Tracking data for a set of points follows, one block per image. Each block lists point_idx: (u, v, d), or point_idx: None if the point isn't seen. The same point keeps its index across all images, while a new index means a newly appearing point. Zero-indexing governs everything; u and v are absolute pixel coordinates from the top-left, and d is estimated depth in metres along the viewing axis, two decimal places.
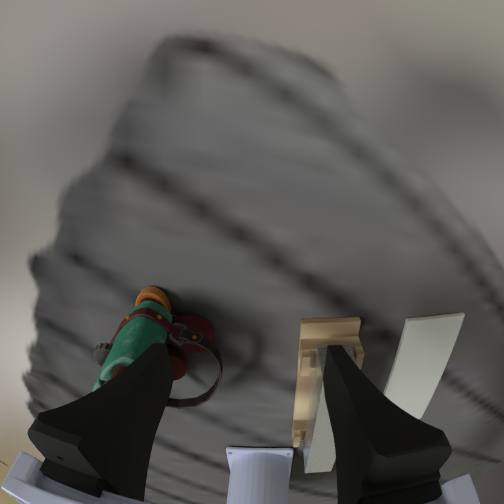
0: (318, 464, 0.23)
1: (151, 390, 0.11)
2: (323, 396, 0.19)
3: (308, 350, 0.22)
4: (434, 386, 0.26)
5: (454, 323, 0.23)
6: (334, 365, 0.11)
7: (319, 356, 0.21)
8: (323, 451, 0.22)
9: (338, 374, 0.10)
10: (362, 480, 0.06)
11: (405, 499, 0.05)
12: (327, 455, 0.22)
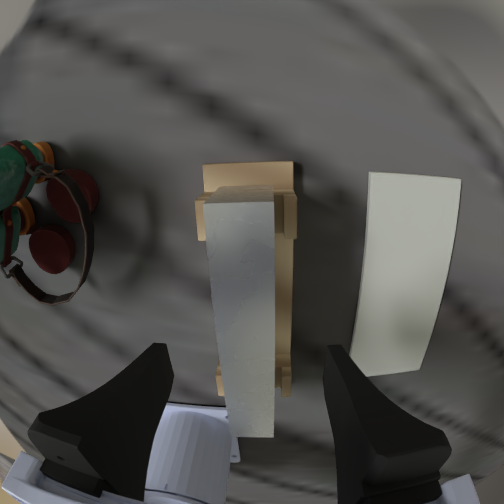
0: (247, 420, 0.16)
1: (151, 390, 0.11)
2: (211, 244, 0.12)
3: (207, 197, 0.15)
4: (435, 311, 0.19)
5: (449, 192, 0.16)
6: (334, 365, 0.11)
7: (216, 191, 0.14)
8: (247, 390, 0.15)
9: (338, 374, 0.10)
10: (362, 480, 0.06)
11: (405, 499, 0.05)
12: (257, 401, 0.15)
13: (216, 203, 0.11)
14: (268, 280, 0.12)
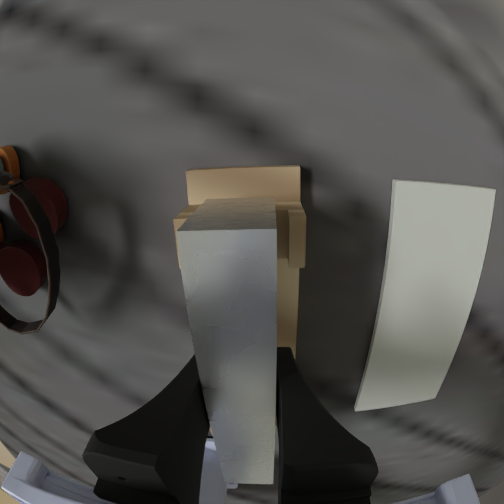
0: (243, 470, 0.12)
1: None
2: (190, 285, 0.08)
3: (191, 213, 0.12)
4: (457, 338, 0.15)
5: (482, 205, 0.12)
6: (276, 367, 0.11)
7: (199, 208, 0.10)
8: (242, 444, 0.11)
9: (277, 376, 0.10)
10: (281, 487, 0.06)
11: None
12: (254, 454, 0.12)
13: (194, 230, 0.08)
14: (268, 331, 0.09)
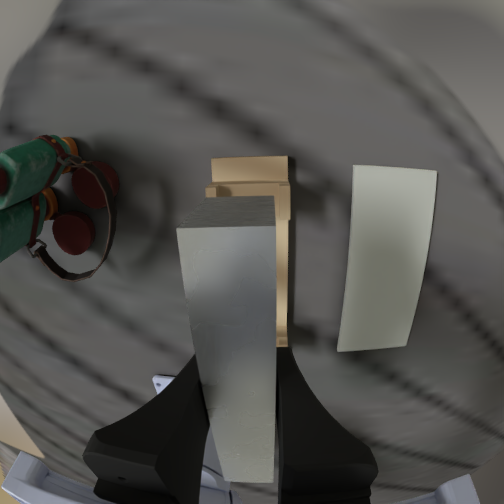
0: (243, 468, 0.12)
1: None
2: (190, 282, 0.09)
3: (216, 185, 0.18)
4: (417, 289, 0.22)
5: (425, 182, 0.19)
6: (276, 367, 0.11)
7: (199, 206, 0.10)
8: (242, 442, 0.11)
9: (277, 377, 0.10)
10: (281, 487, 0.06)
11: None
12: (254, 452, 0.12)
13: (194, 227, 0.08)
14: (268, 328, 0.09)
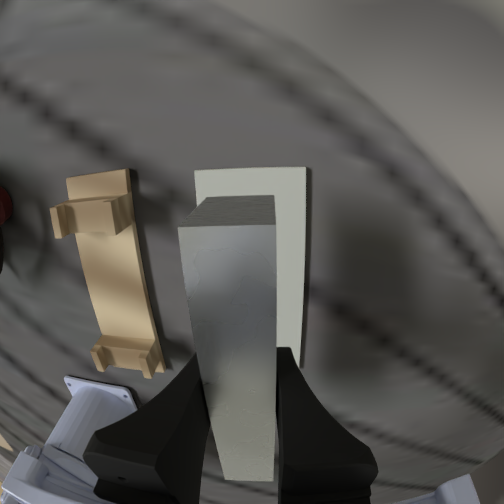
0: (243, 466, 0.12)
1: None
2: (191, 280, 0.09)
3: (61, 204, 0.17)
4: (298, 309, 0.20)
5: (289, 182, 0.17)
6: (276, 367, 0.11)
7: (200, 205, 0.10)
8: (242, 440, 0.11)
9: (277, 377, 0.10)
10: (281, 487, 0.06)
11: None
12: (254, 450, 0.12)
13: (195, 226, 0.08)
14: (268, 326, 0.09)
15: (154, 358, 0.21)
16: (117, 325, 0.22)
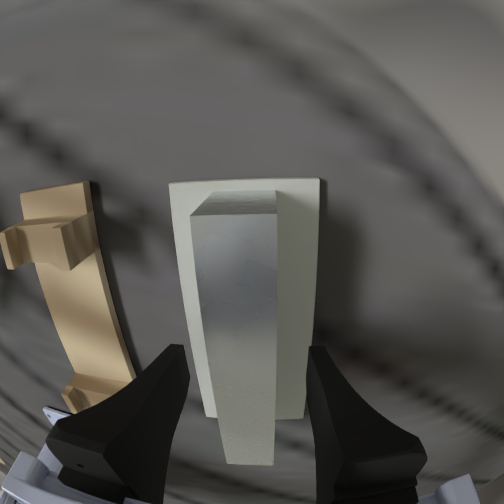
0: (245, 449, 0.13)
1: (170, 393, 0.11)
2: (201, 264, 0.10)
3: (12, 227, 0.12)
4: (305, 356, 0.16)
5: (297, 200, 0.13)
6: (313, 366, 0.11)
7: (208, 198, 0.11)
8: (244, 421, 0.12)
9: (317, 375, 0.10)
10: (334, 484, 0.06)
11: None
12: (255, 432, 0.13)
13: (206, 215, 0.09)
14: (269, 307, 0.10)
15: None
16: (90, 364, 0.17)
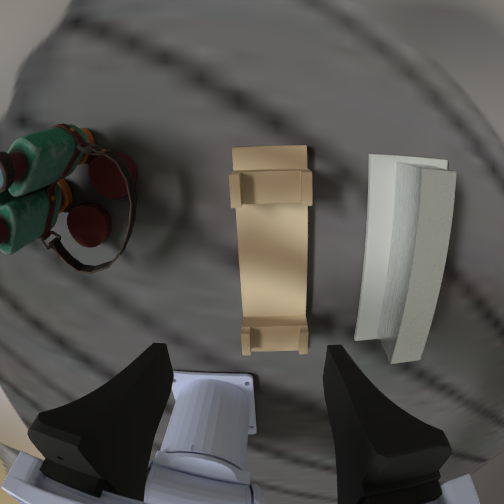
0: (409, 343, 0.19)
1: (151, 390, 0.11)
2: (423, 195, 0.16)
3: (238, 172, 0.18)
4: None
5: None
6: (334, 365, 0.11)
7: (405, 164, 0.17)
8: (418, 311, 0.18)
9: (338, 374, 0.10)
10: (362, 480, 0.06)
11: (405, 499, 0.05)
12: (421, 322, 0.19)
13: (428, 169, 0.15)
14: (449, 221, 0.16)
15: None
16: (266, 304, 0.23)
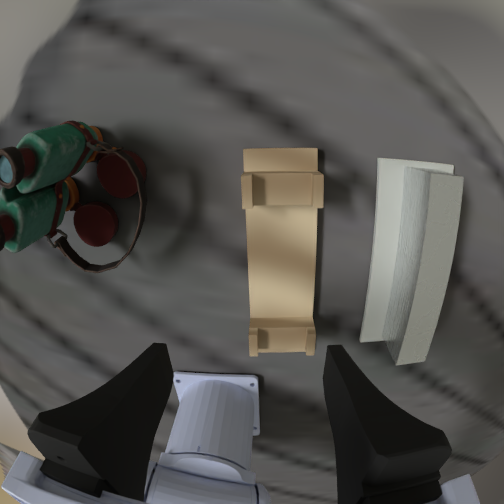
0: (414, 345, 0.19)
1: (151, 390, 0.11)
2: (431, 199, 0.16)
3: (250, 174, 0.18)
4: None
5: None
6: (334, 365, 0.11)
7: (413, 168, 0.18)
8: (424, 313, 0.18)
9: (338, 374, 0.10)
10: (362, 480, 0.06)
11: (405, 499, 0.05)
12: (427, 324, 0.19)
13: (437, 174, 0.15)
14: (455, 225, 0.16)
15: None
16: (273, 305, 0.23)
